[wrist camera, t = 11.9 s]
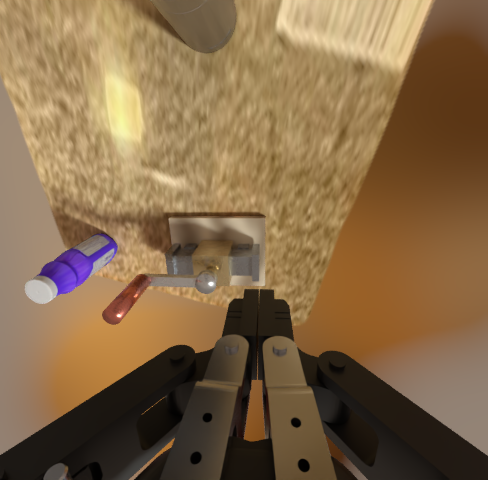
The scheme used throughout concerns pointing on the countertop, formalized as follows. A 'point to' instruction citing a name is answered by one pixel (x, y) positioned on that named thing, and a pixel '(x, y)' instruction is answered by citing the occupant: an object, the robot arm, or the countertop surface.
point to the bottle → (71, 268)
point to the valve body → (214, 260)
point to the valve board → (223, 236)
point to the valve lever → (140, 283)
